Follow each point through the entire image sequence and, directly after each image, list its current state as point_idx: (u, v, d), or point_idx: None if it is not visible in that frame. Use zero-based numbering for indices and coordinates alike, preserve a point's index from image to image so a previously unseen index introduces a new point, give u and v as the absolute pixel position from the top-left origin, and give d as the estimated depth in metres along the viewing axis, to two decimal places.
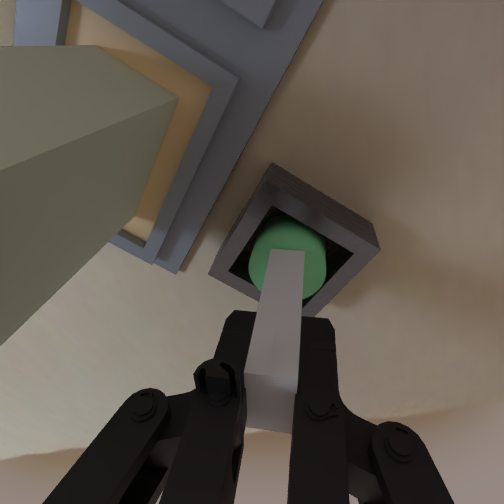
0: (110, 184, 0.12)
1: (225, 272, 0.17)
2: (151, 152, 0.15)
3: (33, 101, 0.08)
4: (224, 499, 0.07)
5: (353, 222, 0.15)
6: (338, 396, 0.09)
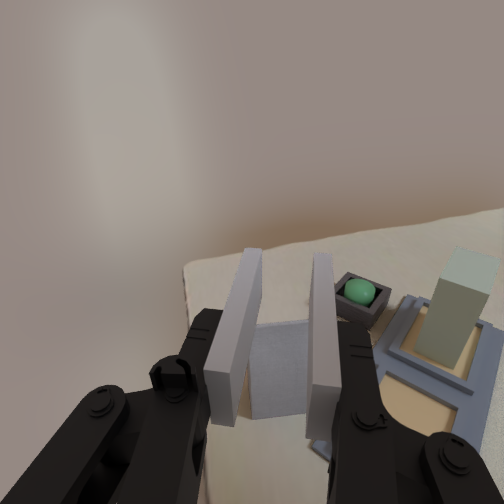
0: None
1: (384, 289, 0.41)
2: None
3: (447, 309, 0.31)
4: (184, 491, 0.07)
5: None
6: (381, 404, 0.09)
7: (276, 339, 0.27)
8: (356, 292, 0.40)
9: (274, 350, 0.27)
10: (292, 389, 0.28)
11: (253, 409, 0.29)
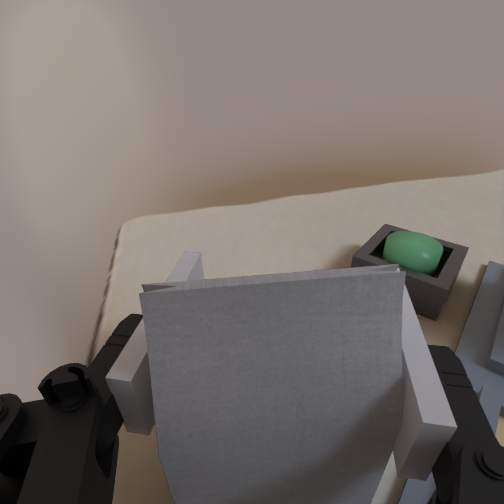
0: None
1: (455, 248, 0.23)
2: None
3: None
4: (90, 493, 0.07)
5: None
6: None
7: (236, 329, 0.08)
8: (410, 251, 0.22)
9: (231, 366, 0.09)
10: (287, 473, 0.10)
11: None
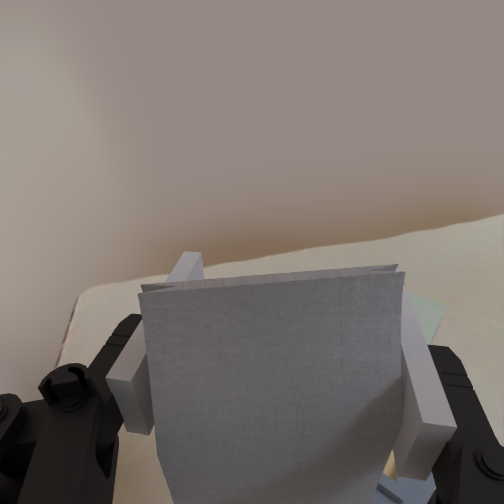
0: None
1: None
2: None
3: None
4: (90, 493, 0.07)
5: None
6: None
7: (236, 329, 0.08)
8: None
9: (230, 367, 0.09)
10: (286, 474, 0.10)
11: None
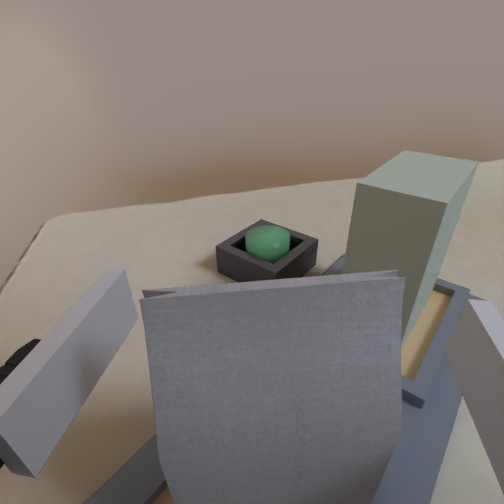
0: None
1: (306, 239, 0.27)
2: None
3: (376, 246, 0.17)
4: None
5: (228, 263, 0.26)
6: None
7: (236, 334, 0.08)
8: (259, 242, 0.26)
9: (231, 372, 0.09)
10: (287, 477, 0.10)
11: None
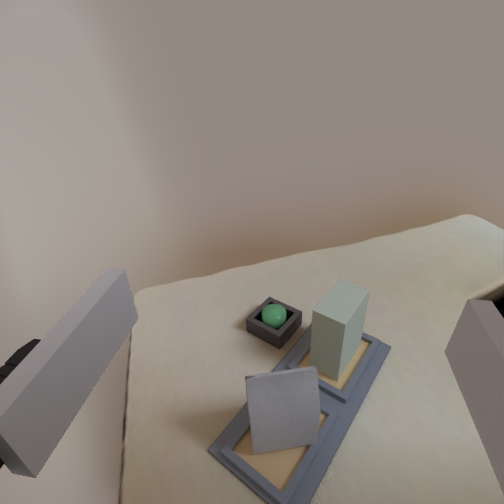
0: None
1: (295, 312, 0.49)
2: None
3: (323, 334, 0.38)
4: None
5: (253, 328, 0.48)
6: None
7: (271, 386, 0.30)
8: (269, 317, 0.47)
9: (270, 397, 0.30)
10: (287, 428, 0.32)
11: (254, 445, 0.33)
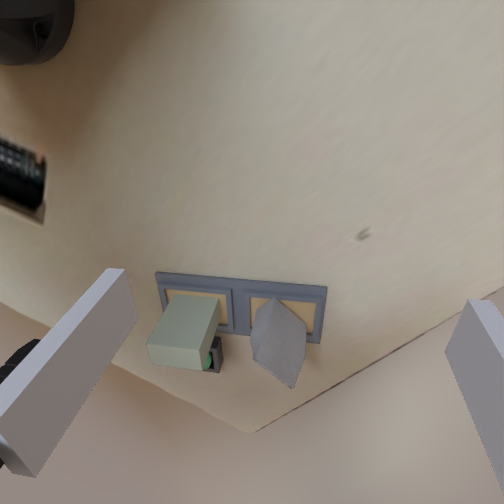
0: None
1: None
2: None
3: (207, 344, 0.44)
4: None
5: (220, 362, 0.56)
6: None
7: (284, 369, 0.41)
8: (206, 362, 0.53)
9: (288, 363, 0.41)
10: (288, 330, 0.44)
11: (305, 332, 0.47)
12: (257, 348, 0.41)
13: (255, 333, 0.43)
